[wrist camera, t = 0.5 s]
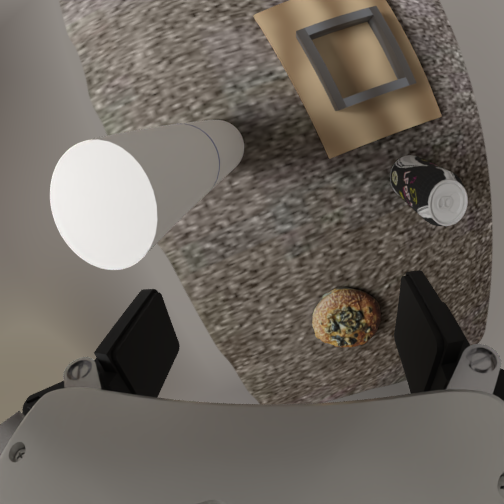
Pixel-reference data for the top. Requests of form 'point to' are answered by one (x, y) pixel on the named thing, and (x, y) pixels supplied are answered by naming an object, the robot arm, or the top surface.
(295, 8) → the board
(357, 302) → the bread roll
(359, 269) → the top surface
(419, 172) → the beverage can
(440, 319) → the robot arm
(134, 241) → the cylindrical container
